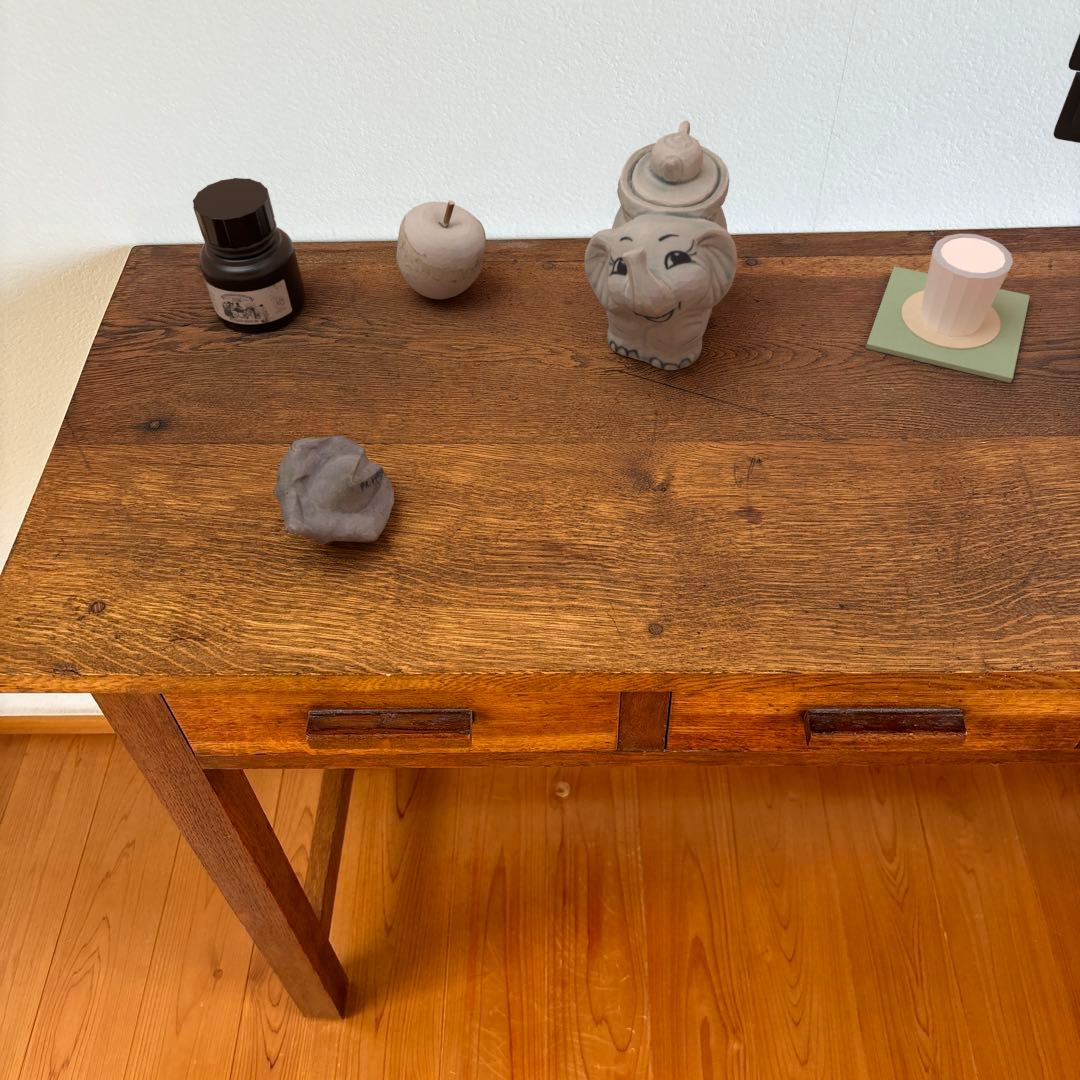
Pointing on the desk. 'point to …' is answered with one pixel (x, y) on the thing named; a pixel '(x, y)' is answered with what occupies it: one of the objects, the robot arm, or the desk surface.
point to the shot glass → (963, 283)
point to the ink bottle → (247, 257)
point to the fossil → (332, 491)
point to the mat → (972, 354)
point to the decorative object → (440, 249)
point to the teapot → (664, 252)
